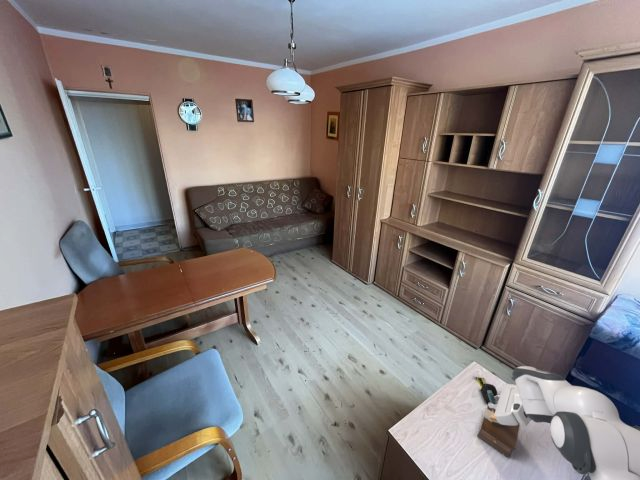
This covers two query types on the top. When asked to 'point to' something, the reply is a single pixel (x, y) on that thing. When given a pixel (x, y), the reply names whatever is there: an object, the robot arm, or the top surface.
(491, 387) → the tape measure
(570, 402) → the robot arm
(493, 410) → the brush
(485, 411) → the felt pad
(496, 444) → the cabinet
